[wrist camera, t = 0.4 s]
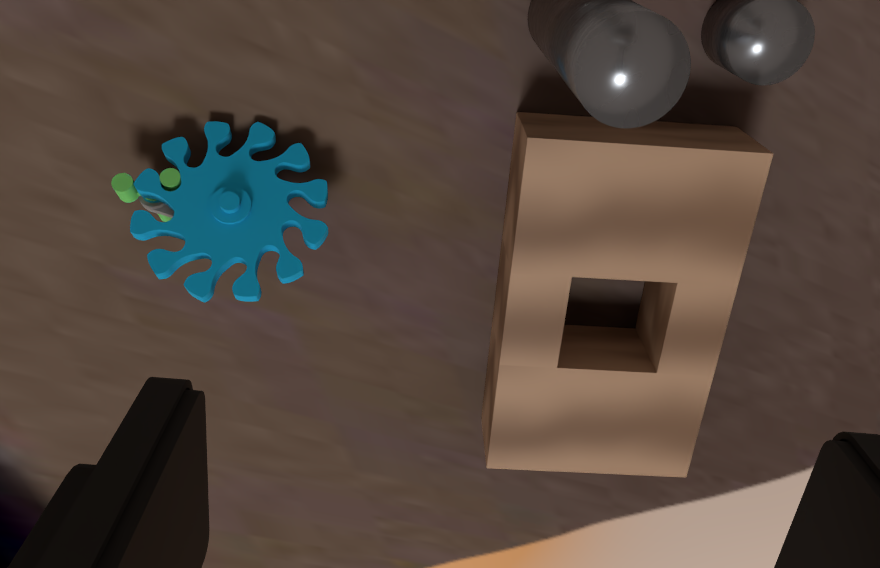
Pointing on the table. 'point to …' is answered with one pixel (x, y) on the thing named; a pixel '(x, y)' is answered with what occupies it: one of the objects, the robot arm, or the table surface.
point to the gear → (225, 209)
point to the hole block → (624, 258)
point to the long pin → (613, 57)
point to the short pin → (758, 38)
